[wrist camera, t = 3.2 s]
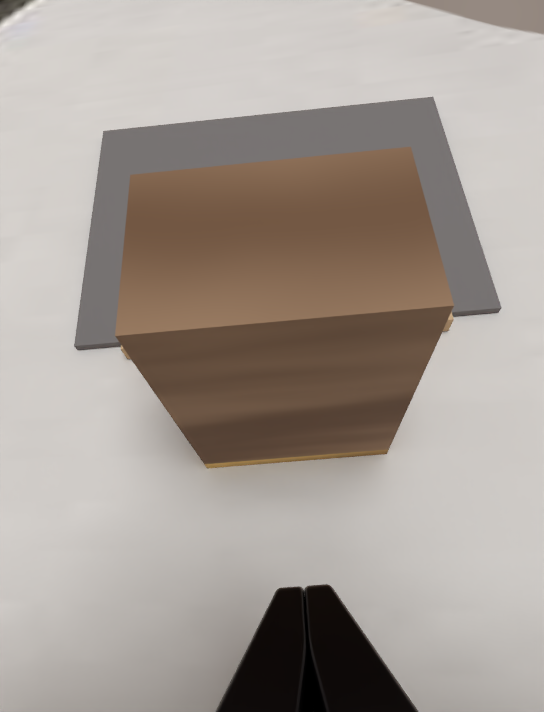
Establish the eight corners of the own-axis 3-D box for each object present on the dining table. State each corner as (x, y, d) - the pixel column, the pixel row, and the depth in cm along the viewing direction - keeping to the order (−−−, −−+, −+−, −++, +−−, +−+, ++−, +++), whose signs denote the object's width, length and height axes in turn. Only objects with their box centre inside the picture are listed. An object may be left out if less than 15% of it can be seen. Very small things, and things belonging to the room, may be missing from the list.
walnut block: (386, 453, 17) (454, 305, 9) (207, 468, 17) (114, 335, 9) (368, 348, 19) (410, 146, 11) (207, 362, 19) (130, 174, 11)
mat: (503, 325, 19) (510, 314, 18) (75, 363, 19) (66, 354, 18) (431, 102, 24) (435, 87, 24) (105, 136, 25) (99, 122, 24)
